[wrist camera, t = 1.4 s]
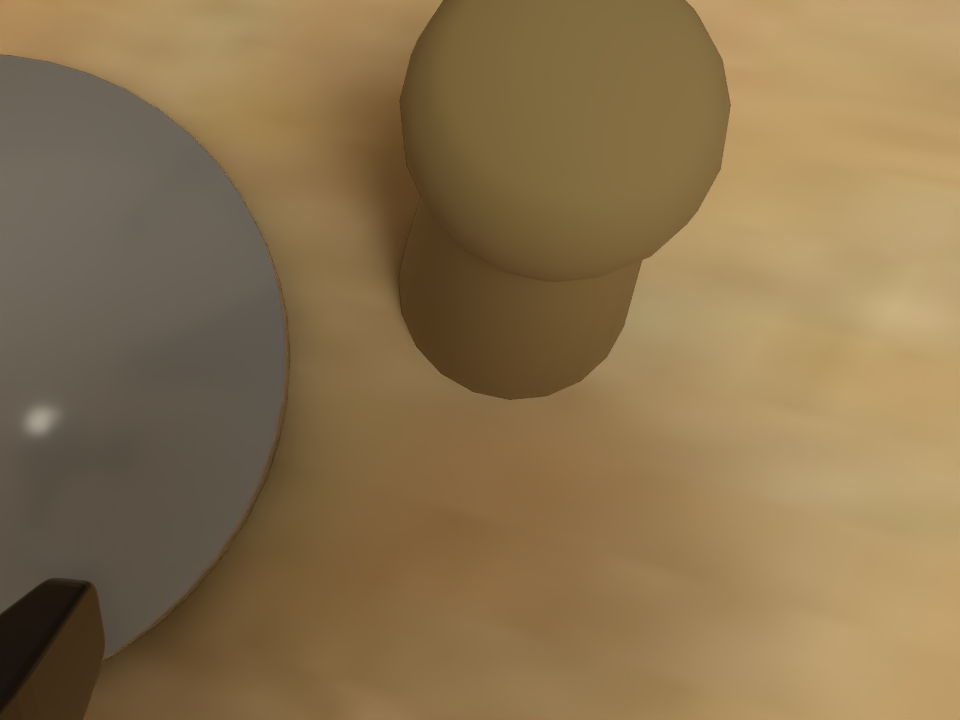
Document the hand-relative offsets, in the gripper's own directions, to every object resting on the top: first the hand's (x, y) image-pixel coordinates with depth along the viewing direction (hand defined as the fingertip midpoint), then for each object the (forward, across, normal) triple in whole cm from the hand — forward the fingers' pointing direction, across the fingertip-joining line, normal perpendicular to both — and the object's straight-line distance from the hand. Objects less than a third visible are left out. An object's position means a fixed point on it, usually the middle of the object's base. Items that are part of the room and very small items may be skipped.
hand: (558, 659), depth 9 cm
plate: (+12, +13, +7) cm, 19 cm away
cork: (+15, 0, +4) cm, 16 cm away
